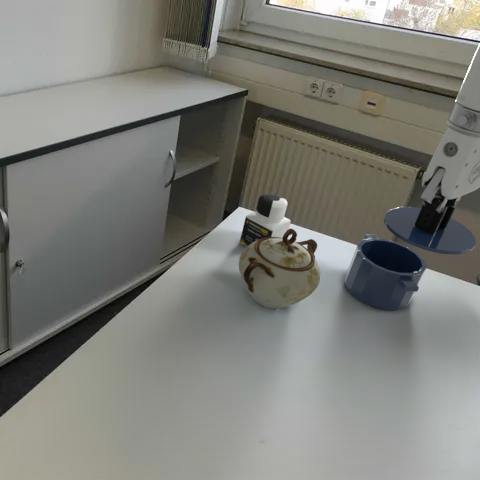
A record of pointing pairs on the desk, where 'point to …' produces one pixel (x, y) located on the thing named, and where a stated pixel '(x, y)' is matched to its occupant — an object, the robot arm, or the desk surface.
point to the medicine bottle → (266, 220)
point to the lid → (442, 241)
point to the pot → (384, 273)
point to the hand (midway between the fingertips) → (429, 226)
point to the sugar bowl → (280, 270)
